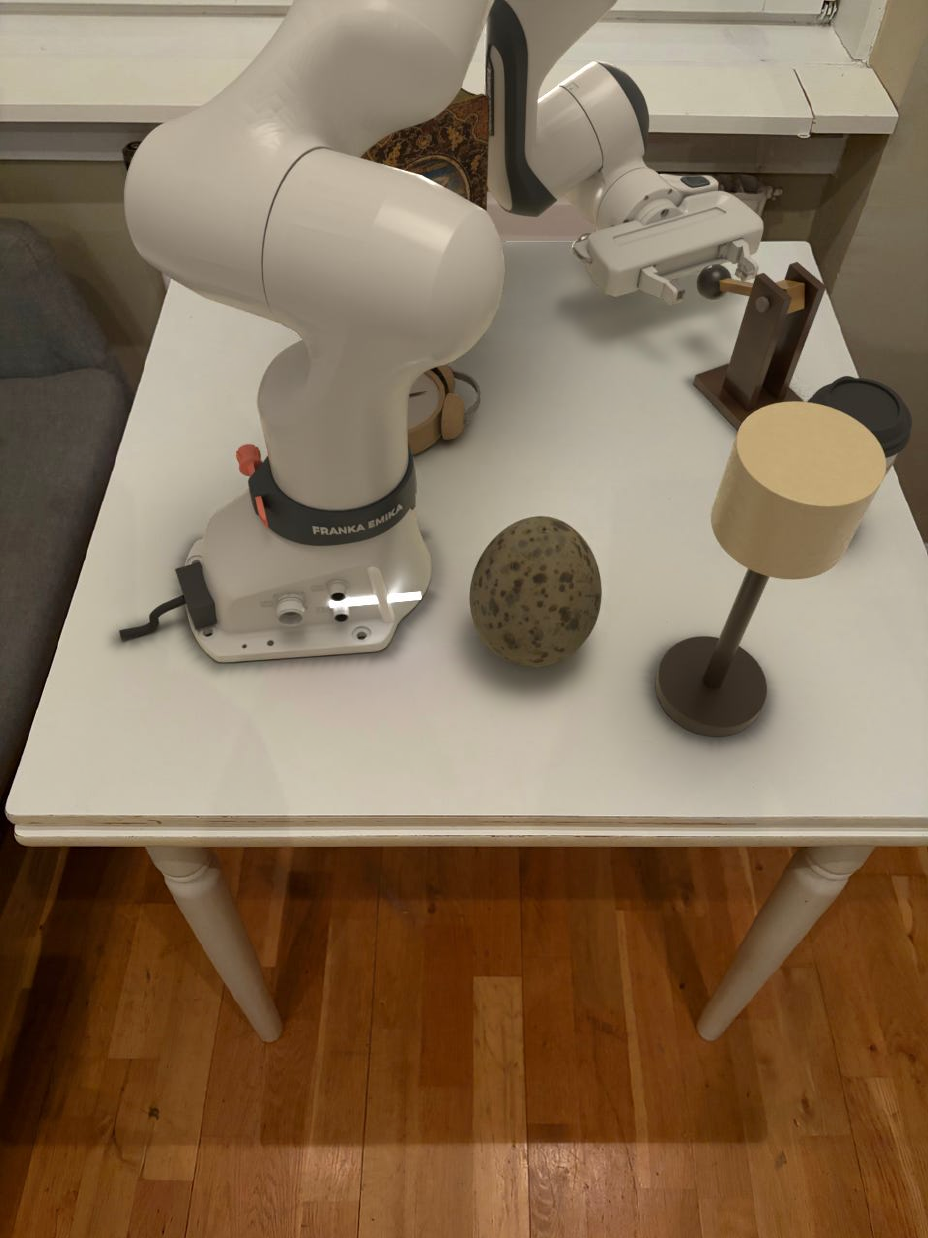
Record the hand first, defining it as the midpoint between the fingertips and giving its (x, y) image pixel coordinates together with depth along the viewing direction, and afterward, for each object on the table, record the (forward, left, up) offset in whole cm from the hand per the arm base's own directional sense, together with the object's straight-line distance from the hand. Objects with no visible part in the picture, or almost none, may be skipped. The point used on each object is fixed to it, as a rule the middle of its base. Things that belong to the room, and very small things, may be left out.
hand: (715, 285), depth 100 cm
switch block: (+2, -9, -8) cm, 13 cm away
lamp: (-18, -41, -8) cm, 46 cm away
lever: (+1, -5, +1) cm, 5 cm away
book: (-30, +13, -8) cm, 34 cm away
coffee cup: (0, -26, -9) cm, 28 cm away
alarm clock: (-34, -2, -9) cm, 35 cm away
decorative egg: (-31, -32, -9) cm, 46 cm away
